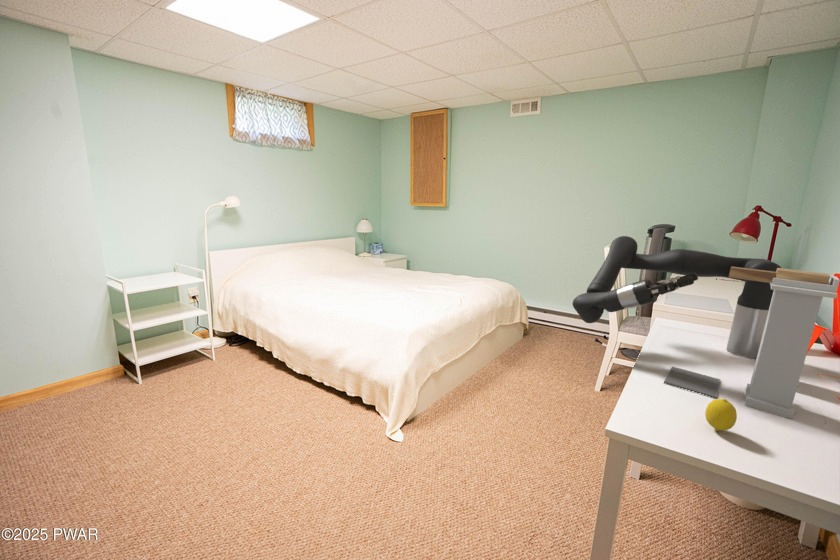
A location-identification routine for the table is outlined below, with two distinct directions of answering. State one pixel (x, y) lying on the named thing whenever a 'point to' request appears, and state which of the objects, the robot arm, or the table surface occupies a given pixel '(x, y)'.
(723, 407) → the lemon
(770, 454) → the table surface
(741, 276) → the bar
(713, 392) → the mat
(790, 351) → the stand
